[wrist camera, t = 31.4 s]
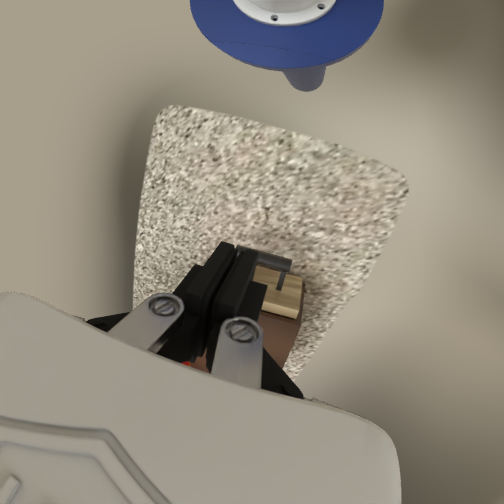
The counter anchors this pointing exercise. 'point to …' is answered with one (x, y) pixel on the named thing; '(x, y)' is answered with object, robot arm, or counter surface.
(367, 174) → the counter surface
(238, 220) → the counter surface
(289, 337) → the cabinet
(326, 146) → the counter surface
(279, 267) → the drawer
